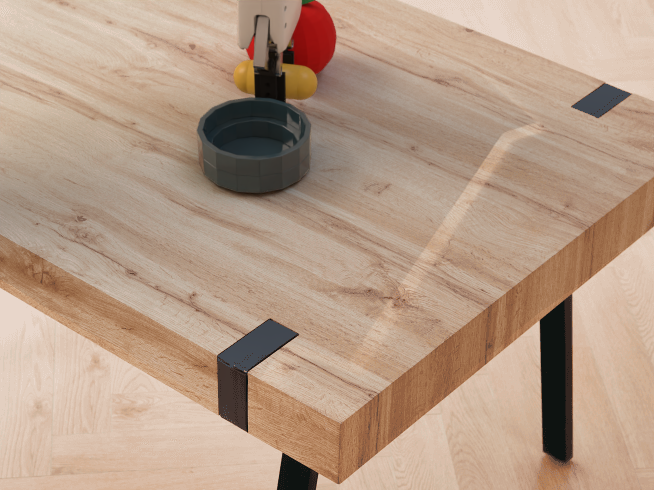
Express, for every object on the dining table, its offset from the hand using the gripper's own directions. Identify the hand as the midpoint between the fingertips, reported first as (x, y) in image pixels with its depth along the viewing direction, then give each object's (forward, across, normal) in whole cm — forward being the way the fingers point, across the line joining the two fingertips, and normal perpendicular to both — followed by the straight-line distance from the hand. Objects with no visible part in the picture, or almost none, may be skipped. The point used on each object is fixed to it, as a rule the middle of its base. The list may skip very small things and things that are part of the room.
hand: (274, 92), depth 115 cm
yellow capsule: (0, 0, 0) cm, 0 cm away
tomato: (+3, -9, 0) cm, 10 cm away
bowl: (+3, +9, 0) cm, 10 cm away
